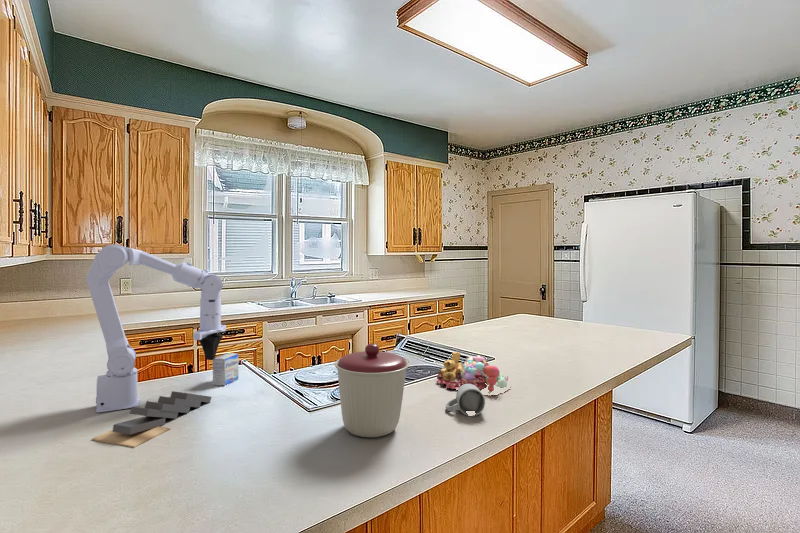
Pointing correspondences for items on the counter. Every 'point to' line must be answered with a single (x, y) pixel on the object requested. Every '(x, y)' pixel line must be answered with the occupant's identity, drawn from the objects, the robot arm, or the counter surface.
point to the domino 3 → (167, 407)
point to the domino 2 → (153, 412)
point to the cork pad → (130, 437)
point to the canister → (371, 391)
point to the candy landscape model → (470, 373)
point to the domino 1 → (138, 425)
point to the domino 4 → (179, 402)
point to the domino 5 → (190, 396)
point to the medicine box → (225, 369)
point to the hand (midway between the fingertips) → (210, 359)
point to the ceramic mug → (467, 400)
